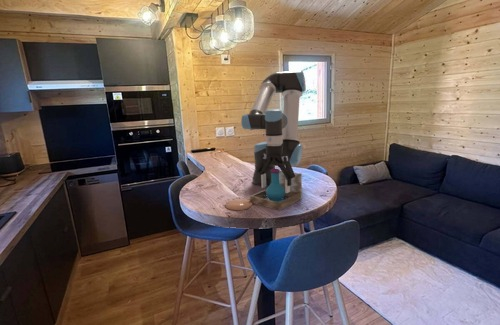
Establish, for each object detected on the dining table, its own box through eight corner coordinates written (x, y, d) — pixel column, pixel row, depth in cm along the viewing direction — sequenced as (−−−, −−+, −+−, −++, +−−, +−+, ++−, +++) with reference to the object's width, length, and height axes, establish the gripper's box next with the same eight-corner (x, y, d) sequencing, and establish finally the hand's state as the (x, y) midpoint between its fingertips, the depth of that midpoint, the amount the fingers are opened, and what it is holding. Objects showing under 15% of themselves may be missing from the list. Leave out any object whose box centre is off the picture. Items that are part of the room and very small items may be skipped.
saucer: (220, 206, 122) (220, 204, 122) (238, 198, 131) (238, 197, 131) (239, 212, 115) (239, 210, 114) (257, 204, 123) (257, 202, 123)
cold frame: (250, 202, 126) (249, 177, 124) (273, 191, 140) (273, 169, 137) (280, 210, 115) (279, 183, 113) (302, 197, 129) (302, 173, 126)
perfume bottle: (264, 197, 131) (263, 167, 128) (283, 196, 132) (282, 166, 128) (267, 204, 122) (266, 172, 119) (287, 203, 123) (287, 171, 119)
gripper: (248, 144, 127) (250, 187, 131) (293, 148, 110) (293, 197, 115) (258, 141, 132) (259, 183, 137) (302, 145, 116) (303, 192, 120)
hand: (275, 189), depth 126 cm, fingers open, 13 cm apart
